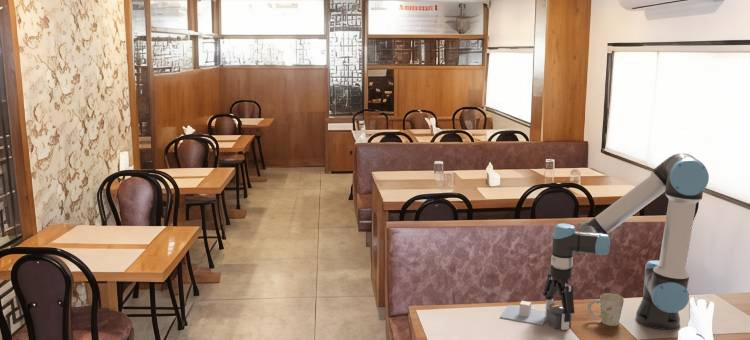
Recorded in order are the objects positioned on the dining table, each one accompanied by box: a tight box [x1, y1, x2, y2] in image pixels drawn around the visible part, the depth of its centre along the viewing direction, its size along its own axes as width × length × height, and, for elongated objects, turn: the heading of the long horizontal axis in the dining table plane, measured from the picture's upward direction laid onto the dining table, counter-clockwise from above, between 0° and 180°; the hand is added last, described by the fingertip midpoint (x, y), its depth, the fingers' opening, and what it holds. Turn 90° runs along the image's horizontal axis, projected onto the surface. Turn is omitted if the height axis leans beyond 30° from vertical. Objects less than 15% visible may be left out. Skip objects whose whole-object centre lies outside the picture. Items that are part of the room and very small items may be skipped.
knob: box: [545, 302, 572, 330], centre depth 243 cm, size 7×7×8 cm
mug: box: [586, 292, 625, 327], centre depth 245 cm, size 8×13×10 cm, turn 78°
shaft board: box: [499, 300, 546, 326], centre depth 251 cm, size 16×13×5 cm
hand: (556, 322), depth 244 cm, fingers open, 11 cm apart
